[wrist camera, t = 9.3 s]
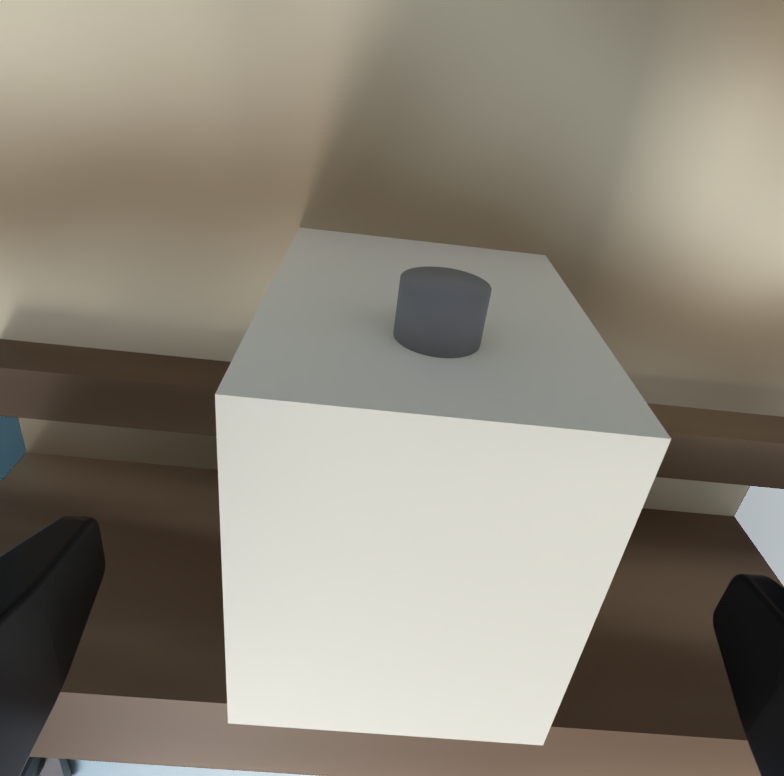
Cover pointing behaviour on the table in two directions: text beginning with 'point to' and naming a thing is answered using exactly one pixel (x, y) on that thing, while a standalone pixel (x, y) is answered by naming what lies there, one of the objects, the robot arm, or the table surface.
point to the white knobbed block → (420, 490)
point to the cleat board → (394, 220)
